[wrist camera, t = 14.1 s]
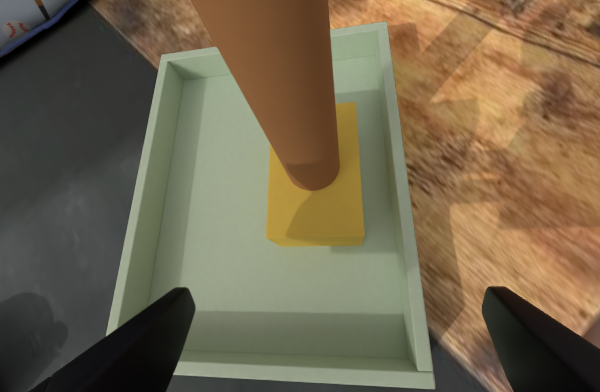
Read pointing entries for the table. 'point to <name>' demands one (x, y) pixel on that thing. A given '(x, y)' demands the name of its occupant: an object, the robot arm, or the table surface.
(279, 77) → the sponge wand
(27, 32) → the lunch box
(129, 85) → the table surface
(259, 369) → the tray
